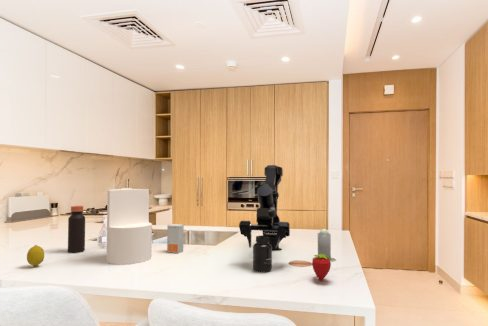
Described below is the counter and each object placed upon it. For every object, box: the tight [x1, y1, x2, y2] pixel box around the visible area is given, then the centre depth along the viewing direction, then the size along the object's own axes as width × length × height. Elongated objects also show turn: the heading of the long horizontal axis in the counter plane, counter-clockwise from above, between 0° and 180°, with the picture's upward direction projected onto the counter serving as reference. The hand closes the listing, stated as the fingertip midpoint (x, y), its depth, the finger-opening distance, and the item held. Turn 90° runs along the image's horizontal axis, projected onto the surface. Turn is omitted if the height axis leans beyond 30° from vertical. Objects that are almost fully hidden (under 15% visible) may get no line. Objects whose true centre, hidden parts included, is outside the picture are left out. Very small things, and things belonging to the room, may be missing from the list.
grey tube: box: [317, 228, 332, 260], centre depth 134 cm, size 5×5×12 cm
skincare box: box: [166, 223, 185, 254], centre depth 149 cm, size 6×4×12 cm
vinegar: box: [67, 205, 86, 254], centre depth 150 cm, size 7×7×20 cm
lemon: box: [26, 244, 45, 268], centre depth 125 cm, size 6×6×8 cm
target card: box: [288, 256, 337, 268], centre depth 130 cm, size 12×22×1 cm, turn 107°
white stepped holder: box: [106, 188, 153, 266], centre depth 137 cm, size 17×17×28 cm
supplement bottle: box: [252, 235, 273, 273], centre depth 121 cm, size 7×7×12 cm
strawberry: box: [311, 251, 332, 282], centre depth 109 cm, size 6×8×10 cm
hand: (262, 247), depth 121 cm, fingers open, 9 cm apart
